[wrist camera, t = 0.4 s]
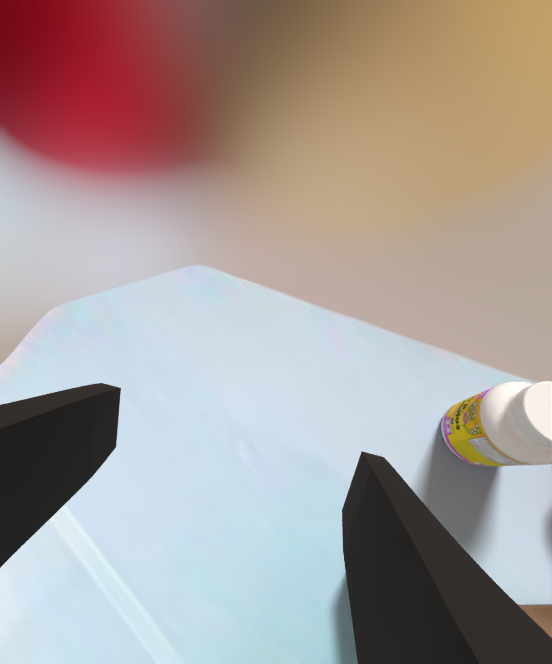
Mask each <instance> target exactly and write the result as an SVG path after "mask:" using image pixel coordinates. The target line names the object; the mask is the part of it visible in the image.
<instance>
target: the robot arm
mask: <svg viewBox="0 0 552 664" xmlns="http://www.w3.org/2000/svg"><path fill="white" fill-rule="evenodd" d="M120 391H121V388H118V387H115V386H111V385H107V384H103V383H99V384H92V385H86V386H81V387H77V388H72V389H67V390H63V391H59V392H54V393H50V394H46V395H41V396H37V397H33V398H29V399H24V400H20V401H16V402H11V403H7V404H2V405H0V567H1V566H2V565H3V564H4V563H5V562H6V561H7V560H8V559H9V558H10V557H11V556H12V555H13V554H14V553H15V552H16V551H17V550H18V549H19V548H20V547H21V546H22V545H23V544H24V543H25V542H26V541H27V540H28V539H29V538H30V537H31V536H32V535H34V534H35V533H36V532H37V531H38V530H39V529H40V528H41V527H42V526H43V525H44V524H45V523H46V522H47V521H48V520H49V519H50V518H51V517H52V516H53V515H54V514H55V513H56V512H57V511H58V510H59V509H60V508H61V507H62V506H63V505H64V504H65V503H66V502H67V501H68V500H69V499H70V498H71V497H72V496H73V495H74V494H75V493H76V492H77V491H78V490H79V489H80V488H81V487H82V486H83V485H84V484H85V483H86V482H87V481H88V480H89V479H90V478H91V477H92V476H93V475H94V474H95V473H96V471H97V470H98V469H99V468H100V467H101V465H102V464H103V463H104V462H105V460H106V459H107V458H108V456H109V455H110V454H111V453H112V451H113V450H114V449H115V448H116V440H117V428H118V416H119V403H120ZM342 527H343V553H344V561H345V569H346V577H347V585H348V592H349V600H350V607H351V614H352V622H353V629H354V637H355V644H356V652H357V659H358V664H552V638H551V637H550V636H549V635H548V634H547V633H546V632H545V631H544V630H543V629H542V628H541V627H540V626H539V625H538V624H537V623H536V622H535V621H534V620H533V619H532V618H531V617H530V616H529V615H528V614H527V613H526V612H524V611H523V610H522V609H521V608H520V607H519V606H518V605H517V604H516V603H515V602H514V601H513V600H512V599H511V598H510V597H509V596H508V595H507V594H506V593H505V592H504V591H503V590H502V589H501V588H500V587H499V586H498V585H497V584H496V583H495V582H494V581H493V580H492V579H491V578H490V577H489V576H488V575H487V574H486V572H485V571H484V570H483V569H482V568H481V567H480V566H479V565H478V564H477V563H476V562H475V561H474V560H473V559H472V558H471V556H470V555H469V554H468V553H467V552H466V551H465V550H464V549H463V548H462V547H461V546H460V545H459V544H458V542H457V541H456V540H455V539H454V538H453V537H452V536H451V535H450V534H449V532H448V531H447V530H446V529H445V528H444V527H443V526H442V525H441V523H440V522H439V521H438V520H437V519H436V518H435V516H434V515H433V514H432V513H431V512H430V511H429V509H428V508H427V507H426V506H425V505H424V504H423V502H422V501H421V500H420V499H419V498H418V497H417V495H416V494H415V493H414V492H413V491H412V489H411V488H410V487H409V486H408V485H407V483H406V482H405V481H404V480H403V479H402V477H401V476H400V475H399V474H398V473H397V472H396V470H395V469H394V468H393V467H392V466H391V465H390V463H389V462H388V461H387V460H386V459H385V458H384V457H381V456H377V455H373V454H369V453H365V452H361V455H360V458H359V461H358V464H357V467H356V470H355V473H354V476H353V479H352V482H351V485H350V488H349V491H348V494H347V497H346V500H345V503H344V506H343V509H342Z"/></svg>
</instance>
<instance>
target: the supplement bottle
mask: <svg viewBox="0 0 552 664" xmlns="http://www.w3.org/2000/svg"><path fill="white" fill-rule="evenodd" d="M441 430H442V435H443V438H444V440H445V443H446V444H447V446H448V447H449V449H450V450H451V451H452V452H453V453H454V454H455V455H456V456H457V457H459V458H460V459H462V460H463V461H465V462H467V463H470V464H473V465H477V466H513V465H545V464H552V382H540V383H536V384H530V383H525V382H506V383H503V384H500V385H497V386H495V387H493V388H491V389H489V390H486V391H484V392H482V393H480V394H477V395H475V396H473V397H471V398H468V399H466V400H464V401H462V402H459V403H457V404H455V405H453V406H452V407H450V408H449V409H448V410H447V411H446V412H445V414H444V416H443V419H442V423H441Z"/></svg>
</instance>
